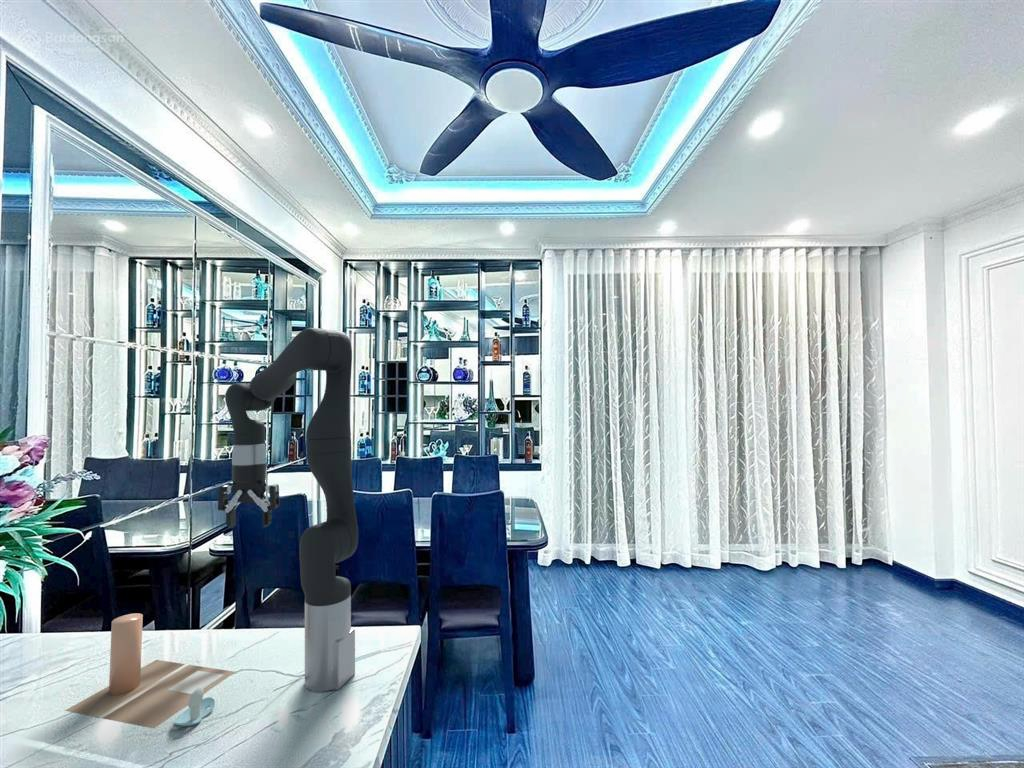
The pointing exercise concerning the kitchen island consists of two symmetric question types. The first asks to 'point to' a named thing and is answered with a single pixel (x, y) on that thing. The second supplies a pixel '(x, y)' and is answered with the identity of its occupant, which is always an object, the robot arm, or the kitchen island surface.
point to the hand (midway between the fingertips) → (249, 526)
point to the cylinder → (125, 653)
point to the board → (153, 694)
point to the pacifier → (194, 710)
